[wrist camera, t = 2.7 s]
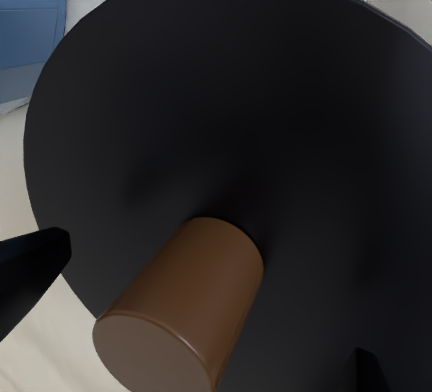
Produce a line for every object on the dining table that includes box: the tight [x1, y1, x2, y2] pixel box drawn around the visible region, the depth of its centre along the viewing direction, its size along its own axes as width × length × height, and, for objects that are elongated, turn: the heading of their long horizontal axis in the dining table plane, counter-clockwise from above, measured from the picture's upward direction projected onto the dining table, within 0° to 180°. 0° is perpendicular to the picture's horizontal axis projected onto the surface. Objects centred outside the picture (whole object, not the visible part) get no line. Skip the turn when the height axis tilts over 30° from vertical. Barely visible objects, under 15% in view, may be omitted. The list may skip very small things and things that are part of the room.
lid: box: [23, 0, 432, 392], centre depth 9 cm, size 14×14×5 cm
